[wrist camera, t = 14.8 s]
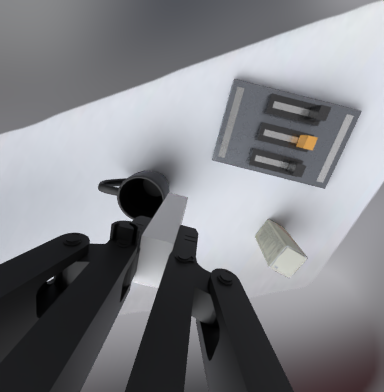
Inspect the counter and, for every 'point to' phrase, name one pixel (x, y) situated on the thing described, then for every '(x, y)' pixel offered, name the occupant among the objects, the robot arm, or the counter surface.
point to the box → (279, 249)
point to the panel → (282, 133)
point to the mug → (138, 193)
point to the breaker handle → (306, 142)
